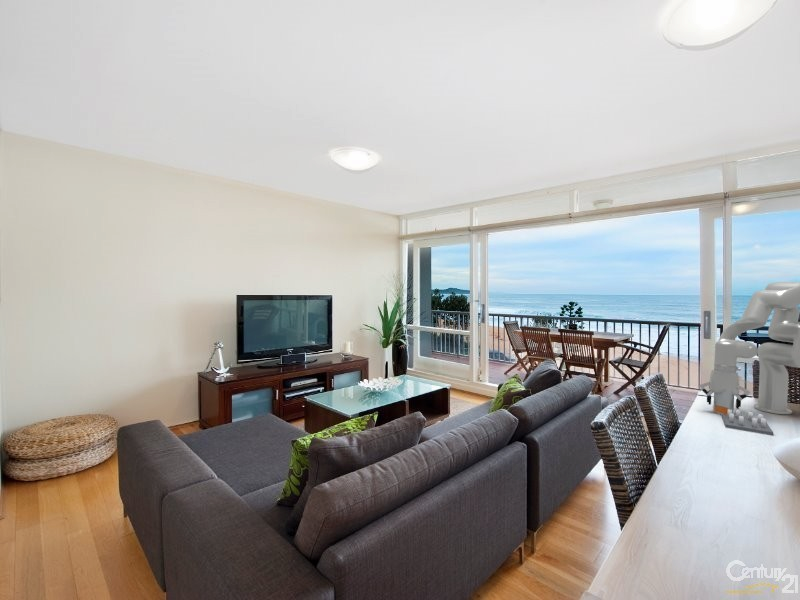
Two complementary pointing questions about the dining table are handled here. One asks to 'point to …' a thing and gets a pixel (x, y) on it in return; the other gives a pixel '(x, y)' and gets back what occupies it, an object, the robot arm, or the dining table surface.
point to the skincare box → (723, 402)
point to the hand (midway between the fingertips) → (723, 406)
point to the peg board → (746, 422)
